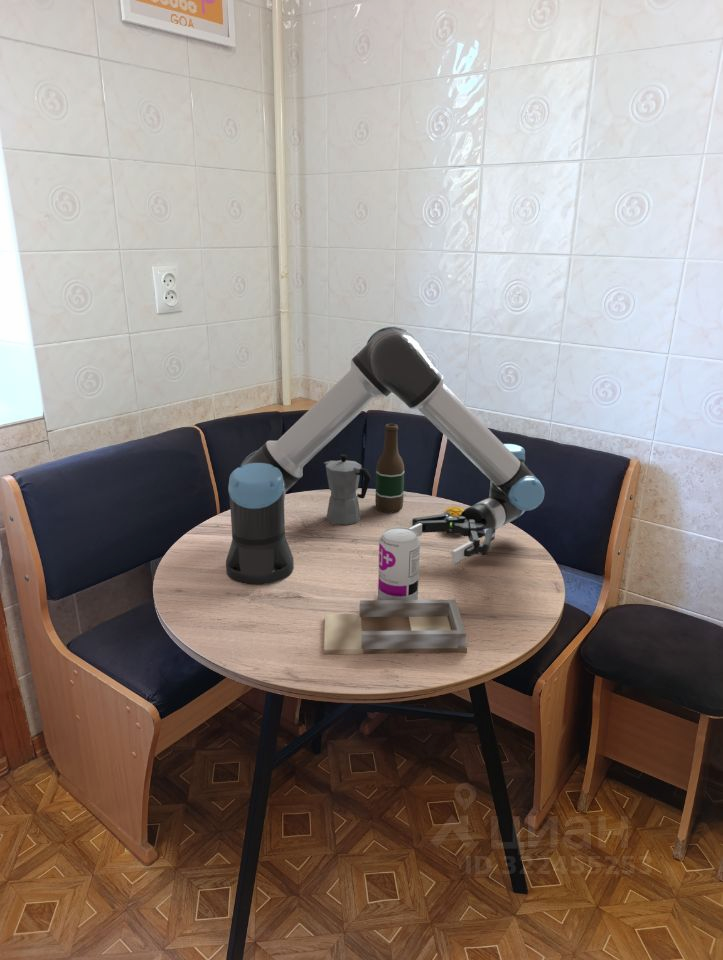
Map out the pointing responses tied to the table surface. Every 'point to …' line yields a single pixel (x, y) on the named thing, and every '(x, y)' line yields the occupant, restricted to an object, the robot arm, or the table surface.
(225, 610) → the table surface
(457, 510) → the pineapple toy
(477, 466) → the robot arm
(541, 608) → the table surface
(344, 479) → the coffeepot
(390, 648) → the rectangular tray
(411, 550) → the supplement can
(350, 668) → the table surface
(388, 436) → the beer bottle
